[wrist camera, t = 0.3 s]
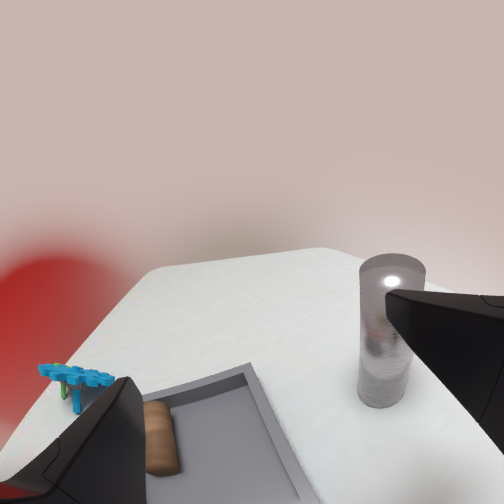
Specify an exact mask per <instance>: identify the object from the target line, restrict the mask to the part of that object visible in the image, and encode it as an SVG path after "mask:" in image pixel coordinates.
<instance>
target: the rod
mask: <svg viewBox="0 0 504 504" xmlns="http://www.w3.org/2000/svg"><path fill="white" fill-rule="evenodd" d="M143 407H144V420H145V431H146V473H147V474H150V475H153V476H159V477H167V476H172V475H175V474H177V473H178V472H179V464H178V458H177V452H176V446H175V440H174V433H173V426H172V418H171V410H170V407H169V406H168V405H167V404H165V403H163V402H160V401H148V402H145V403H143Z"/></svg>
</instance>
